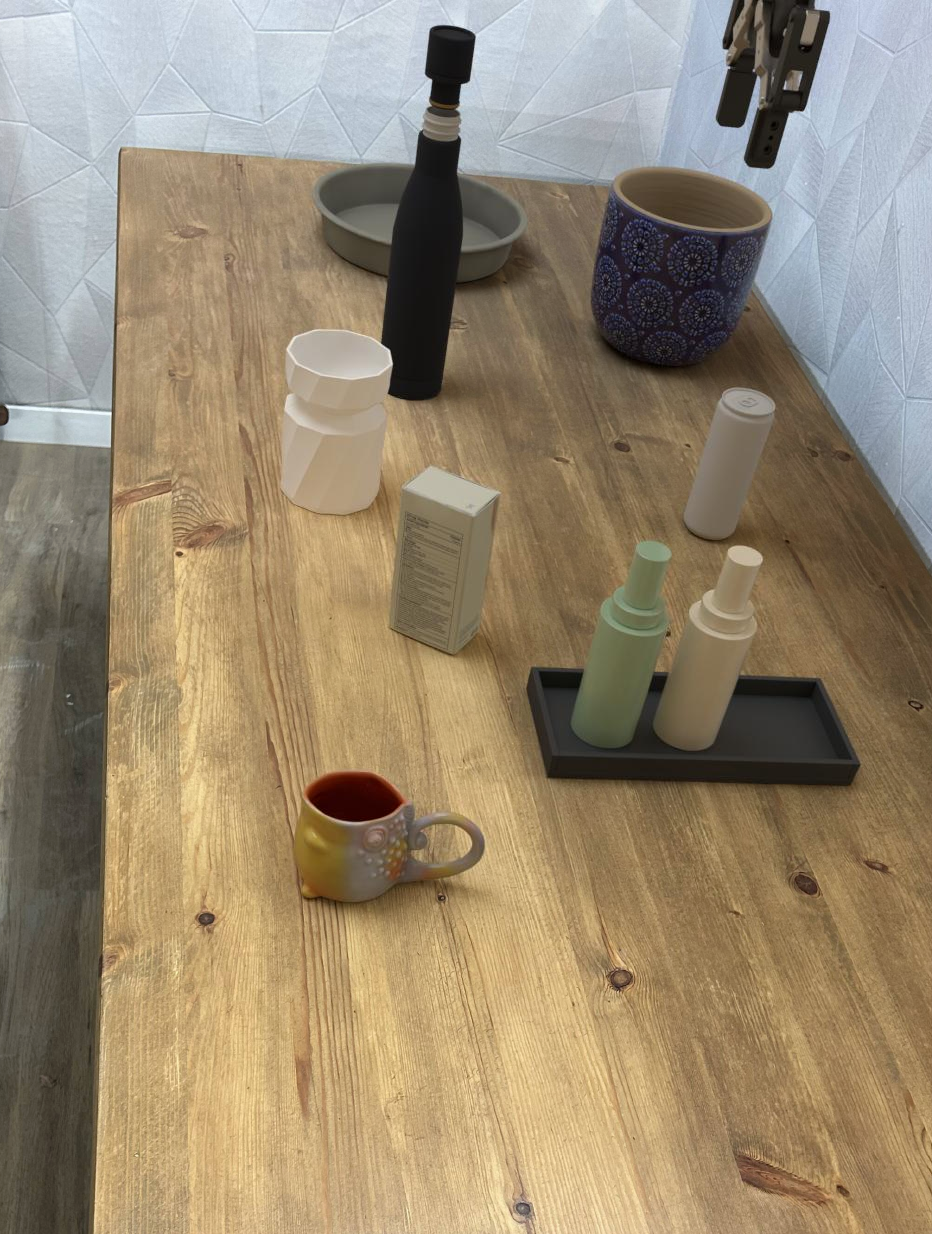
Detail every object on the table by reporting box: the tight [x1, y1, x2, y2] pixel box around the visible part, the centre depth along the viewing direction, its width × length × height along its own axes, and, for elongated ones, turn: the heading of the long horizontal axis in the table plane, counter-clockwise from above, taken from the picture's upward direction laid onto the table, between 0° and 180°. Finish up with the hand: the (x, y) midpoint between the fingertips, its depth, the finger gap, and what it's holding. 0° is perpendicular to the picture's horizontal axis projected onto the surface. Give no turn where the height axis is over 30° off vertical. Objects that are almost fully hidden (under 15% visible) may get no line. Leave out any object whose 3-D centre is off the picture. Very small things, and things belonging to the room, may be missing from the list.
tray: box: [525, 666, 862, 786], centre depth 100 cm, size 23×10×2 cm, turn 95°
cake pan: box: [311, 162, 529, 284], centre depth 154 cm, size 25×25×4 cm
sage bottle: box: [571, 540, 673, 749], centre depth 94 cm, size 5×5×15 cm
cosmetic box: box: [387, 465, 502, 656], centre depth 101 cm, size 6×4×12 cm
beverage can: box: [683, 387, 776, 541], centre depth 117 cm, size 5×5×12 cm
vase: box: [279, 328, 393, 516], centre depth 113 cm, size 9×9×12 cm
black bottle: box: [380, 24, 477, 401], centre depth 121 cm, size 6×6×30 cm
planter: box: [590, 165, 773, 367], centre depth 140 cm, size 17×17×15 cm
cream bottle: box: [653, 545, 764, 751], centre depth 95 cm, size 5×5×15 cm
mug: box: [293, 769, 486, 903], centre depth 85 cm, size 12×7×7 cm, turn 84°
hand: (742, 145), depth 102 cm, fingers open, 8 cm apart
